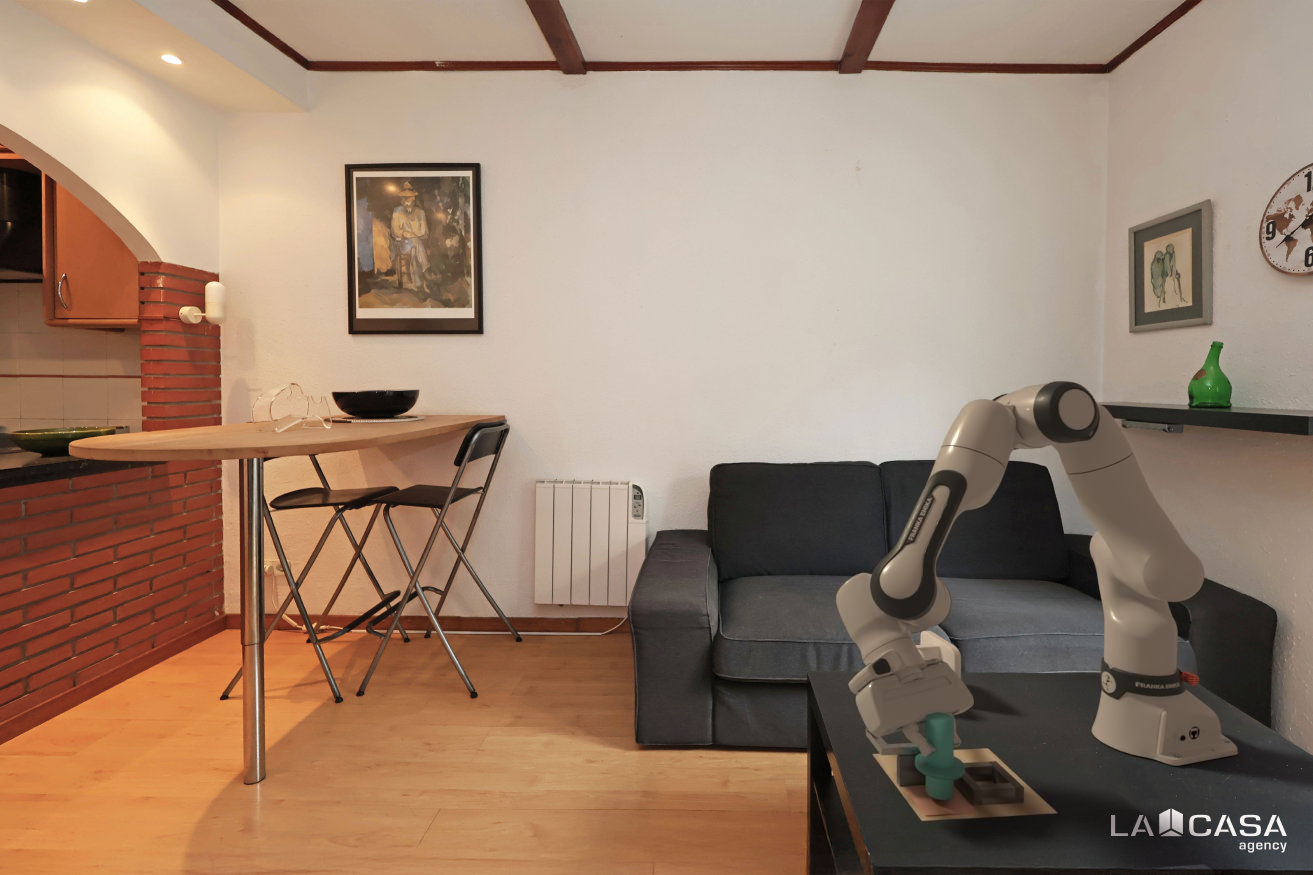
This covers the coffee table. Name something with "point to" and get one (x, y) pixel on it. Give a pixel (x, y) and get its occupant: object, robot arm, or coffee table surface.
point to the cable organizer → (939, 650)
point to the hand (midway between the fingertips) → (943, 750)
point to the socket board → (966, 788)
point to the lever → (892, 746)
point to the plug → (940, 757)
